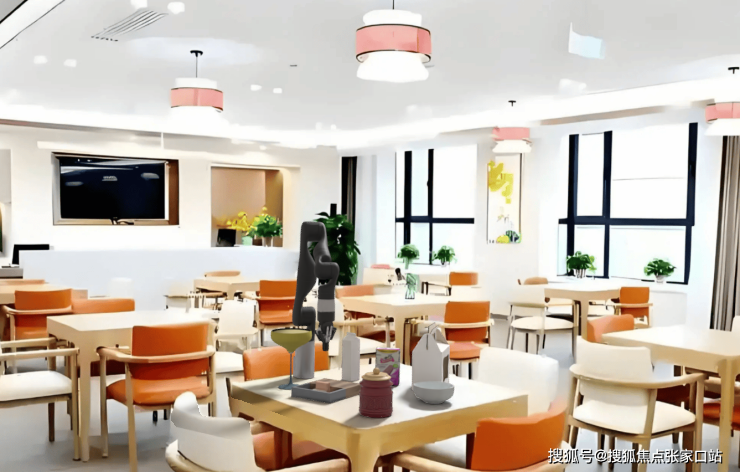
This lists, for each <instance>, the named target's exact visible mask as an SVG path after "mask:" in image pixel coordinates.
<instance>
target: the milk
mask: <svg viewBox="0 0 740 472" xmlns="http://www.w3.org/2000/svg"><path fill="white" fill-rule="evenodd" d="M341 344H342V345H341V350H342V351H341V381H346V382H355V381H361V379H360V375H361V374H360V370H361V366H360V365H361V364H360V363H361V339H360V338H359V337H357V333H355V332H350V331H347V332H346V335H345V336H344V337H343V338H342V340H341Z"/></svg>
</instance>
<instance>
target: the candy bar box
mask: <svg viewBox="0 0 740 472" xmlns="http://www.w3.org/2000/svg"><path fill="white" fill-rule="evenodd" d="M401 350H402V349H401V348H399V347H378V346H377V347H376V348H375V361H374V362H375V364H374V365H375V366H374V368H379V370H380V372H384V373H387V374H388V375H389V376H391V379H390V381H392V382H393V385H392V386H400V383H401Z"/></svg>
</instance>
